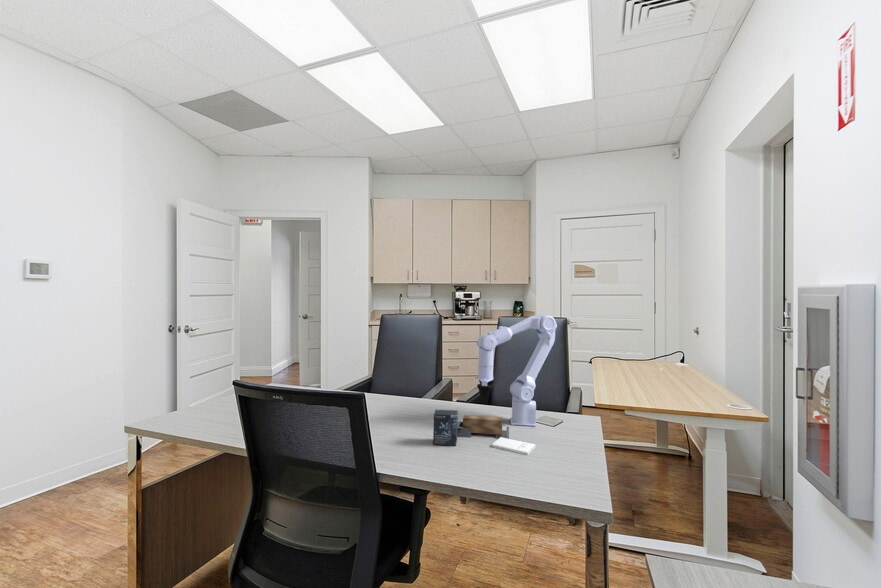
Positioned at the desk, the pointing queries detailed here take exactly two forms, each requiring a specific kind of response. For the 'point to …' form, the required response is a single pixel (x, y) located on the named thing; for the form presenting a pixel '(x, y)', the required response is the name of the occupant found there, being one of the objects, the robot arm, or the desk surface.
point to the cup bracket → (463, 430)
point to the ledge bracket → (504, 434)
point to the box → (445, 427)
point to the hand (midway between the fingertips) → (485, 400)
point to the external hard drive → (513, 445)
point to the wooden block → (483, 424)
